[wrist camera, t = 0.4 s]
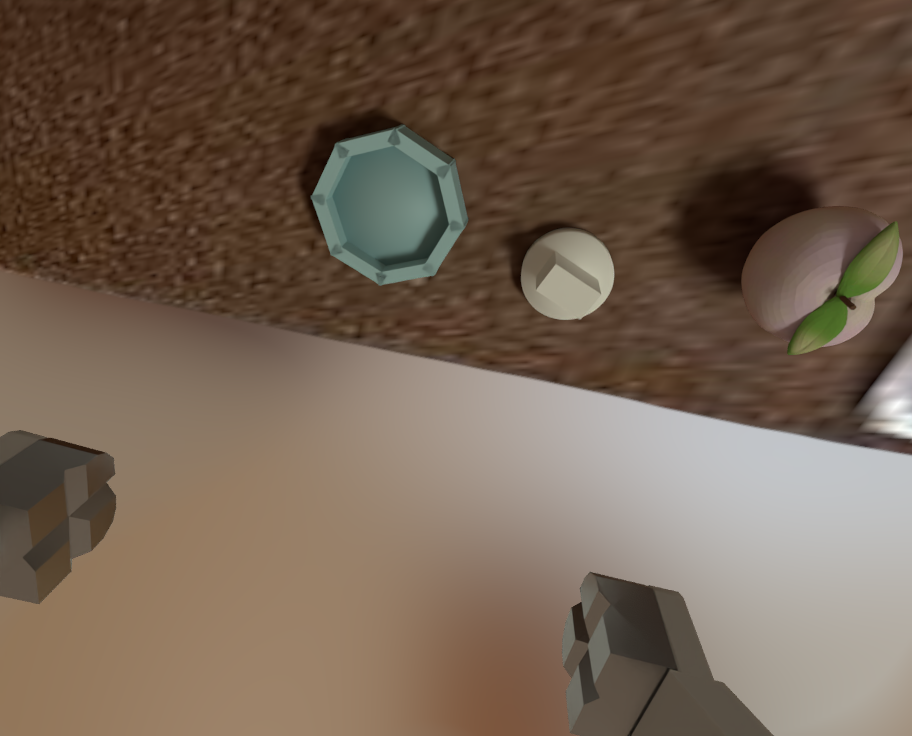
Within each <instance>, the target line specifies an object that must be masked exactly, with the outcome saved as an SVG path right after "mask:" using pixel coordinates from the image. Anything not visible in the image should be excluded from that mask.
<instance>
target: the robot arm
mask: <svg viewBox="0 0 912 736" xmlns="http://www.w3.org/2000/svg"><path fill="white" fill-rule="evenodd" d="M114 475H115V468H114V458H113V457H112V456H110V455H109V454H108V453H105V452H102V451H98V450H94V449H90V448H87V447H83V446H79V445H76V444H72V443H68V442H65V441H61V440H57V439H54V438H47V437H44V436H40V435H37V434H33V433H29V432H26V431H21V430H19V431H11V432H8V433H6V434H5V435H3V436H1V437H0V596H4V597H8V598H13V599H17V600H22V601H27V602H32V603H36V604H40V603H41V602H42V601H43V600H44V599H45V598H46V597H47V596H48V595H49V593H51V592H52V590H53V589H54V588H55V587H56V586H57V585H58V584H59V583H60V582H61V581H62V580H63V579H64V578H65V577H66V576H67V575H68V574H69V573H70V572H71V566H72V559H73V558H75V557H78V556H80V555H83V554H85V553H88V552H90V551H92V550H93V549H94V548H95V547H96V546H97V545H98V543H99V542H100V541H101V540H102V539H103V538H104V536H105V534H106V533H107V531H108V529H109V527H110V526H111V524H112V522H113V519H114V514H115V510H116V495H115V494H114V493H113V491H112V490H111V488H110V487H109V486H108V484H107V482H108V481H109V480H110V479H111V477H113V476H114ZM580 592H581V600H582V602H580V603H579V604H577V605H575V606H573V607H572V608H571V610H570V613H569V615H568V618H567V620H566V624H565V628H564V634H563V639H562V657H563V667H564V668H565V669H566V671H567V672H568V674H569V675H570V677H571V678H572V679H571V682H570V684H569V686H568V688H567V690H566V699H567V709H568V719H569V728H570V733H572V734H576V735H580V736H773V735H772V734H771V732H770V731H769V730H768V729H767V728H766V727H765V726H764V725H763V724H762V723H761V722H760V721H759V720H758V719H757V718H756V717H755V716H754V715H753V714H752V712H751V711H750V710H749V709H748V708H747V707H746V706H745V705H744V704H743V703H742V702H741V701H740V700H739V699H738V698H737V696H736V695H735V694H734V693H733V692H732V691H731V690H730V689H729V688H728V687H727V686H726V685H725V684H724V683H723V682H719V681H715V680H714V678H713V676H712V673H711V671H710V668H709V665H708V662H707V660H706V657H705V654H704V652H703V649H702V646H701V644H700V641H699V638H698V636H697V633H696V630H695V628H694V625H693V622H692V620H691V617H690V614H689V612H688V609H687V607H686V604H685V601H684V598H683V597H682V596H681V595H680V593H679V592H676V591H672V590H667V589H663V588H659V587H654V586H650V585H649V586H646V585H643V584H639V583H635V582H630V581H626V580H622V579H618V578H613V577H609V576H605V575H601V574H596V573H592V572H590V573H589V574H588V575H587V576H586V577H585V578H584V581H583V583H582V585H581V587H580Z"/></svg>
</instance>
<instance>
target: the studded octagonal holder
mask: <svg viewBox="0 0 912 736" xmlns="http://www.w3.org/2000/svg"><path fill="white" fill-rule="evenodd" d="M455 162H456V161H455V159H453V158H451V157H450V156H448V155H447V154H445V153H444V152H442V151H441V150H439V149H438V148H436V147H435V146H433V145H432V144H430V143H429V142H428V141H426V140H425V139H423V138H422V137H420V136H419V135H417V134H416V133H414V132H413V131H411V130H410V129H408V128H407V127H405V125H403V124H401V125H399V126H397V127H393V128H389V129H385V130H381V131H377V132H373V133H369V134H365V135H361V136H357V137H353V138H346V139H344V140H341V141H339V142H337V143H336V144H335V147H334V149H333V152H332V154H331V156H330V158H329V160H328V162H327V165H326V167H325V169H324V171H323V173H322V175H321V178H320V180H319V182H318V184H317V186H316V188H315V191H314V193H313V195H312V196H311V199H312V201H313V204H314V207H315V210H316V212H317V215H318V218H319V221H320V224H321V227H322V230H323V233H324V236H325V238H326V241H327V244H328V247H329V250H330V254H331V256H332V255H333V256H334V257H336V258H338V259H339V260H341V261H342V262H344V263H346V264H347V265H349V266H351V267H352V268H354V269H355V270H357V271H359V272H360V273H362V274H363V275H365V276H367V277H368V278H370V279H371V280H373V281H375V282H376V283H378V284H379V285H383V284H388V283H394V282H399V281H405V280H410V279H416V278H421V277H427V276H433V275H435V274H436V272H437V270H438V268H439V266H440V264H441V263H442V261H443V260H444V258H445V257H446V255H447V253H448V252H449V250H450V249H451V247H452V246H453V244H454V242H455V241H456V239H457V238H458V236H459V235H460V233H461V232H462V230H463V229H464V228H465V226H466V224H467V222H468V217H467V213H466V208H465V204H464V199H463V195H462V190H461V186H460V181H459V177H458V172H457V168H456V163H455Z"/></svg>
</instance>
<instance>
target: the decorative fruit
mask: <svg viewBox="0 0 912 736" xmlns="http://www.w3.org/2000/svg"><path fill="white" fill-rule="evenodd" d="M902 256H903V250H902V242H901V240H900V238H899V231H898V223H897V222H893V223H891V224H889V223H887V222H886V221H885V220H884V219H882V218H881V217H879V216H877V215H876V214H874V213H872V212H869V211H867V210H864V209H860V208H856V207H846V206H832V207H822V208H816V209H811V210H807V211H803V212H800V213H797V214H795V215H792V216H790V217H788V218H786V219H784V220H782V221H780V222H779V223H777V224H776V225H774V226H773V227H771V228H770V229H769V230H768V231H766V232H765V233H764V234H763V235H762V236H761V237H760V238H759V239H758V240H757V242H756V243H755V245H754V246H753V248H752V249H751V251H750V253H749V255H748V257H747V259H746V262H745V265H744V268H743V272H742V279H741V285H742V293H743V298H744V301H745V304H746V307H747V309H748V311H749V313H750V314H751V316H752V317H753V319H754V320H755V321H756V322H757V323H758V324H759V325H760V326H761V327H762V328H763V329H765V330H766V331H768V332H770V333H771V334H773V335H775V336H777V337H779V338H781V339H784V340H786V341H788V342H790V343H789V345H788V351H787V354H788V355H794V354H802V353H806V352H810V351H812V350H815V349H818V348H820V347H825V346H832V345H836V344H839V343H842V342H844V341H846V340H849V339H850V338H852V337H853V336H855V335H856V334H858V333H859V332H860V331H861V330H862V329H863V328H865V327H866V326H867V324H868V323H869V321H870V320H871V318H872V315H873V312H874V306H875V302H874V299H875V297H876V296H877V295H879V294H880V293H882V292H883V291H885V290H886V289H887V288H888V287H889V286H890V285H891V284H892V283H893V282H894V280H895V279H896V277H897V275H898V273H899V271H900V267H901V263H902Z"/></svg>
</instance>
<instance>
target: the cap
mask: <svg viewBox="0 0 912 736" xmlns="http://www.w3.org/2000/svg"><path fill="white" fill-rule="evenodd" d="M613 282H614V267H613V263H612V260H611V257H610V254H609V251H608V249H607V248H606V246H605V245H604V243H603V242H602V241H601V240H600V239H599V238H597V237H596V236H595V235H593V234H592V233H590V232H588V231H585V230H582V229H578V228H560V229H556V230H553V231H550V232H548V233H546V234H544V235H542V236H541V237H540V238H538V239H537V240H536V241H535V242H534V243H533V244H532V245H531V247H530V248H529V249H528V251H527V253H526V255H525V257H524V260H523V263H522V270H521V285H522V289H523V292H524V295H525V297H526V298H527V300H528V302H529V303H530V304H531V305H532V306H533V307H534V308H535V309H536V310H537V311H539V312H540V313H542V314H544V315H546V316H548V317H551V318H555V319H561V320H569V319H576V318H579V319H581V318H582V317H583V316H585V315H587V314H590V313H591V312H593V311H594V310H596V309H597V308H598V307H599V306H600V305H601V304H602V303H603V302H604V301H605V300H606V298H607V297H608V295H609V293H610V291H611V289H612V286H613Z"/></svg>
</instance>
